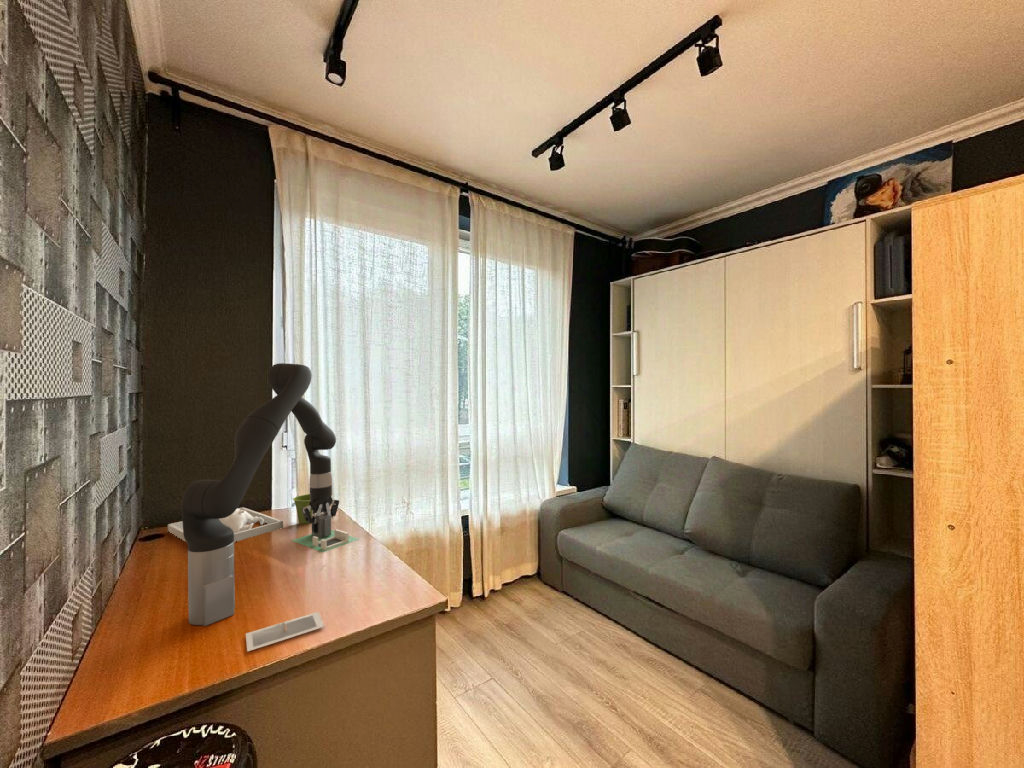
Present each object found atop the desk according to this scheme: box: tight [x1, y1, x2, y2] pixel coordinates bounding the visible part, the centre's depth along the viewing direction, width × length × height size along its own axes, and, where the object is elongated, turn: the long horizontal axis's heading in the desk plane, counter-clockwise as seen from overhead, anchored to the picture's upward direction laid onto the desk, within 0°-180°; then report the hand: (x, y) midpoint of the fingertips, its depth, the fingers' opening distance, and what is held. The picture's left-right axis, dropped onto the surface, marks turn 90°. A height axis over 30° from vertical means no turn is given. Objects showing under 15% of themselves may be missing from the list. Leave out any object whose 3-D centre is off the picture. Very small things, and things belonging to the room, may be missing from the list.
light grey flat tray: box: [167, 506, 284, 543], centre depth 163 cm, size 36×27×3 cm
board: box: [291, 528, 360, 554], centre depth 147 cm, size 20×14×4 cm
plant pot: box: [292, 493, 312, 525], centre depth 168 cm, size 12×12×11 cm
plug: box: [311, 512, 332, 538], centre depth 151 cm, size 4×7×7 cm, turn 55°
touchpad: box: [245, 611, 325, 652], centre depth 93 cm, size 8×15×2 cm, turn 125°
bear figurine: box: [219, 508, 265, 533], centre depth 160 cm, size 17×14×20 cm
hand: (321, 530), depth 152 cm, fingers closed on plug, 4 cm apart
